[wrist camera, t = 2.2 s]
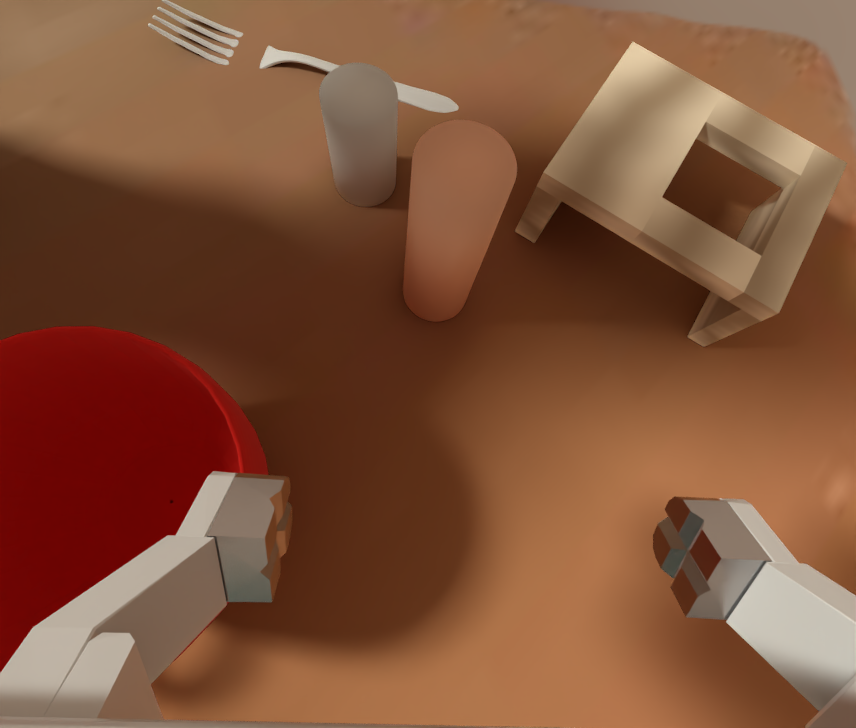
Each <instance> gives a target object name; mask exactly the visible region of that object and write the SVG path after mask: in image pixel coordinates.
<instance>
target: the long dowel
mask: <svg viewBox="0 0 856 728" xmlns="http://www.w3.org/2000/svg"><path fill="white" fill-rule="evenodd" d="M516 176H517V162H516V157H515V155H514V152H513V150H512V148H511V146H510V145H509V143H508V142H507V141H506V140H505V138H504V137H503V136H502V135H500V134H499V133H498V132H497V131H495V130H494V129H492V128H491V127H489V126H487V125H484V124H482V123H479V122H475V121H471V120H451V121H446V122H443V123H440V124H438V125H435V126H434V127H432V128H430V129H429V130H428V131H426V132H425V133H424V134H423V135H422V136H421V138H420V139H419V141H418V142H417V144H416V146H415V149H414V152H413V157H412V169H411V183H410V197H409V211H408V225H407V239H406V253H405V267H404V281H403V297H404V300H405V302H406V305H407V306H408V308H409V309H410V310H411V311H412V312H413V313H414V314H415V315H416V316H418V317H420V318H422V319H424V320H427V321H432V322H440V321H445V320H448V319H451V318H452V317H454V316H455V315H457V314H458V313H459V312H460V311H461V310H462V308H463V306H464V305H465V302H466V300H467V297H468V295H469V292H470V290H471V288H472V285H473V283H474V280H475V278H476V275H477V273H478V271H479V268H480V266H481V263H482V261H483V258H484V256H485V254H486V251H487V249H488V246H489V244H490V241H491V239H492V237H493V234H494V232H495V229H496V227H497V224H498V222H499V220H500V217H501V215H502V212H503V210H504V207H505V205H506V203H507V200H508V198H509V195H510V193H511V190H512V188H513V186H514V183H515V181H516Z"/></svg>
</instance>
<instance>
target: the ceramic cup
mask: <svg viewBox="0 0 856 728" xmlns="http://www.w3.org/2000/svg"><path fill="white" fill-rule="evenodd" d="M213 471H218V472H230V473H250V474H263V475H269V474H268V468H267V462H266V457H265V454H264V452H263V449H262V446H261V444H260V441H259V439H258V436H257V433H256V431H255V429H254V428H253V426H252V425H251V423H250V422H249V420H248V419H247V417H246V416H245V414H244V412H243V411H242V409H241V408H240V406H239V405H238V404H237V403H236V401H235V400H234V399H233V398H232V397H231V396H230V395H229V394H228V393H227V392H226V391H225V390H224V389H223V388H222V387H221V386H220V385H219V384H218V383H217V382H216V381H215V380H214V379H213V378H212V377H211V376H209V375H208V374H207V373H206V372H205V371H204V370H203V369H201V368H200V367H199V366H197V365H196V364H194V363H192V362H191V361H189V360H188V359H186V358H185V357H183V356H181V355H180V354H178V353H177V352H175V351H173V350H172V349H170V348H169V347H167V346H165V345H163V344H160V343H157V342H155V341H152V340H149V339H147V338H144V337H141V336H139V335H136V334H133V333H131V332H125V331H119V330H113V329H107V328H102V327H96V326H62V327H51V328H46V329H41V330H35V331H30V332H25V333H19V334H16V335H13V336H11V337H8V338H5V339H2V340H0V673H1V671H2V670H3V669H4V667H5V666H6V664H7V663H8V662H9V660H10V659H11V657H12V656H13V655H14V653H15V652H16V650H17V649H18V648H19V646H20V645H21V643H22V642H23V641H24V639H25V638H26V636H27V635H28V634H29V632H30V631H31V629H32V628H33V627H34V626H36V625H37V624H39V623H40V622H41V621H43V620H44V619H46V618H47V617H49V616H50V615H52V614H53V613H55V612H56V611H58V610H59V609H60V608H62V607H63V606H65V605H66V604H68V603H69V602H71V601H72V600H74V599H75V598H77V597H78V596H80V595H81V594H82V593H84V592H85V591H87V590H88V589H90V588H91V587H93V586H94V585H96V584H97V583H99V582H100V581H101V580H103V579H104V578H106V577H107V576H109V575H110V574H112V573H113V572H115V571H116V570H118V569H119V568H120V567H122V566H123V565H125V564H126V563H128V562H129V561H131V560H132V559H134V558H135V557H137V556H138V555H140V554H141V553H142V552H144V551H145V550H147V549H148V548H150V547H151V546H153V545H154V544H156V543H157V542H159V541H160V540H161V539H163V538H164V537H166V536H167V535H174V536H176V534H177V532H178V530H179V528H180V526H181V525H182V523H183V521H184V519H185V517H186V515H187V513H188V512H189V510H190V508H191V506H192V504H193V502H194V500H195V499H196V497H197V495H198V493H199V491H200V489H201V488H202V486H203V484H204V482H205V480H206V478H207V477H208V476H209V475H210V474H211V473H212V472H213ZM228 603H229V602H227V604H228ZM226 606H227V605H226ZM226 606H225V607H226ZM225 607H224V608H225ZM224 608H223V609H224ZM223 609H222V610H221V612H222V611H223ZM221 612H220V613H221ZM220 613H219V614H220ZM219 614H218V615H219ZM218 615H217V616H218ZM217 616H216V617H217ZM216 617H215V618H216ZM215 618H214V619H215ZM214 619H213V620H212V621H211V622H210V623H209V624H208V625H207V626H206V627H205V628H204V629H203V630H202V631H201V632H200V633H199V635H200V634H201V633H202V632H203V631H204V630H205V629H206V628H207V627H208V626H209V625H210V624H211V623H212V622H213V621H214ZM199 635H198V636H199ZM198 636H197V637H198ZM197 637H196V638H197ZM196 638H195V639H196ZM195 639H194V640H193V641H192V642H191V643H190V644H189V645H188V646H187V647H186V648H185V649H184V650H183V651H182V652H181V653H180V654H179V655H178V656H177V658H178V657H179V656H180V655H181V654H182V653H183V652H184V651H185V650H186V649H187V648H188V647H189V646H190V645H191V644H192V643H193V642H194V641H195ZM177 658H176V659H177ZM176 659H175V660H176ZM175 660H174V661H175Z"/></svg>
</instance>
